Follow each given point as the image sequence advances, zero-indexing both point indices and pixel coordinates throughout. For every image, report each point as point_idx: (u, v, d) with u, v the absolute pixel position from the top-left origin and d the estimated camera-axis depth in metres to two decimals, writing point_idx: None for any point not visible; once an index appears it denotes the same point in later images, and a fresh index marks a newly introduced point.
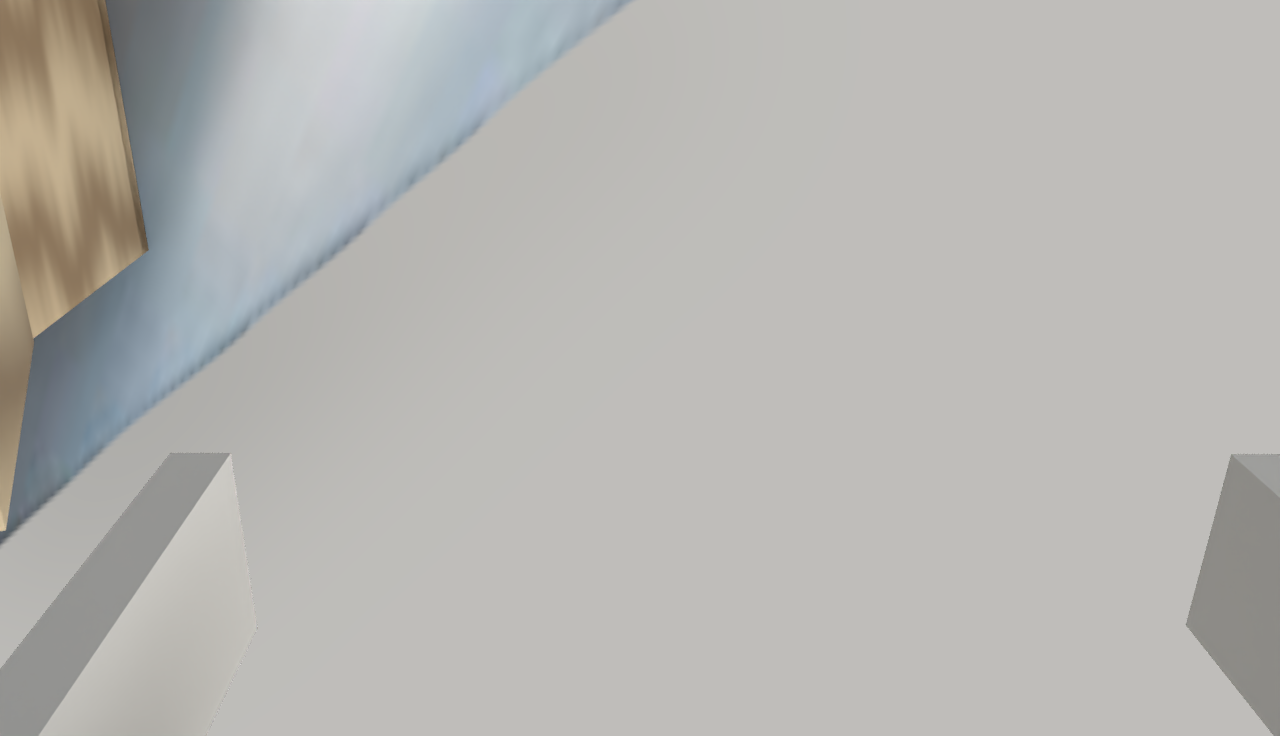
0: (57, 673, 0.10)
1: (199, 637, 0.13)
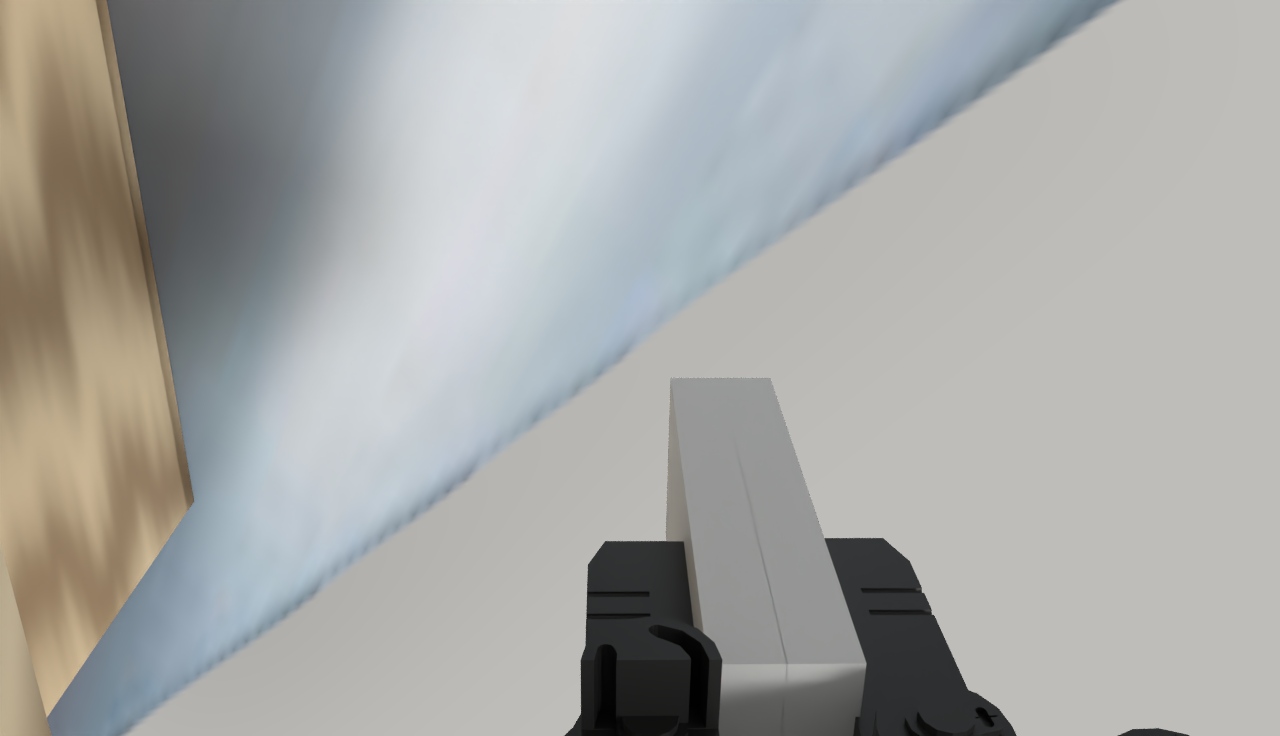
0: (739, 530, 0.12)
1: None
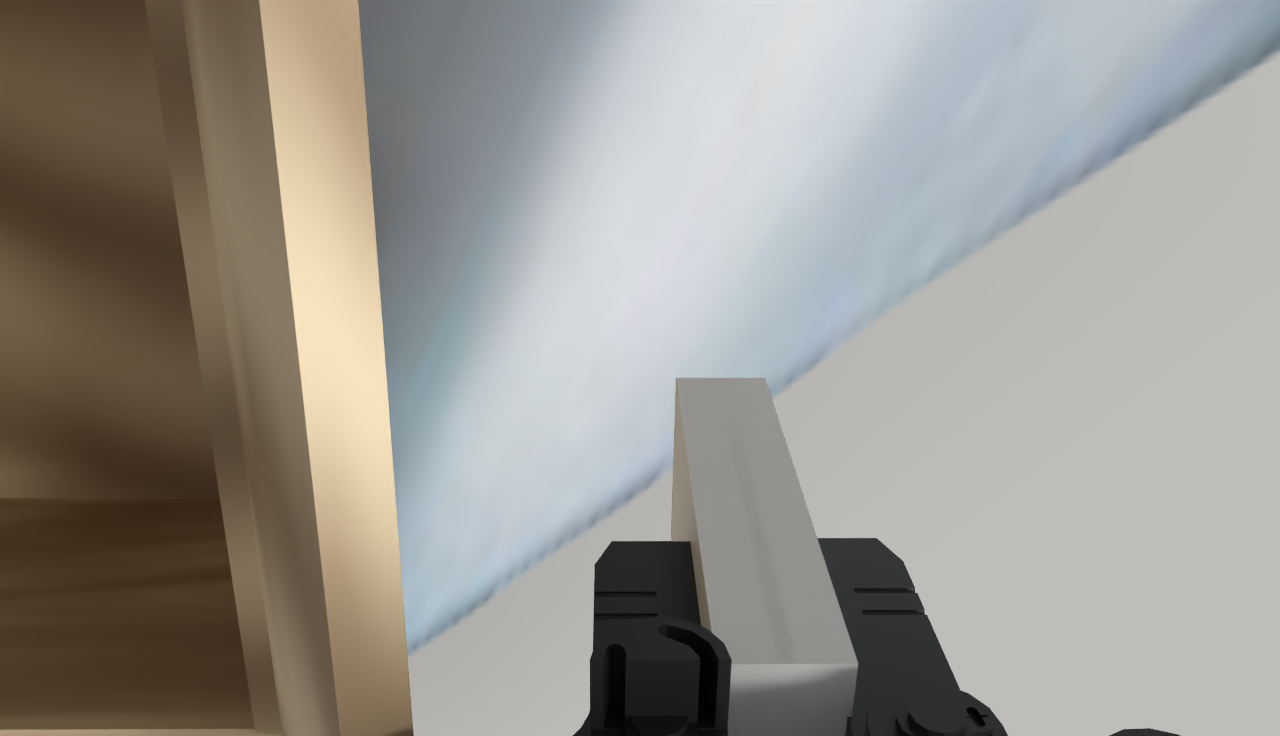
0: (746, 530, 0.12)
1: None
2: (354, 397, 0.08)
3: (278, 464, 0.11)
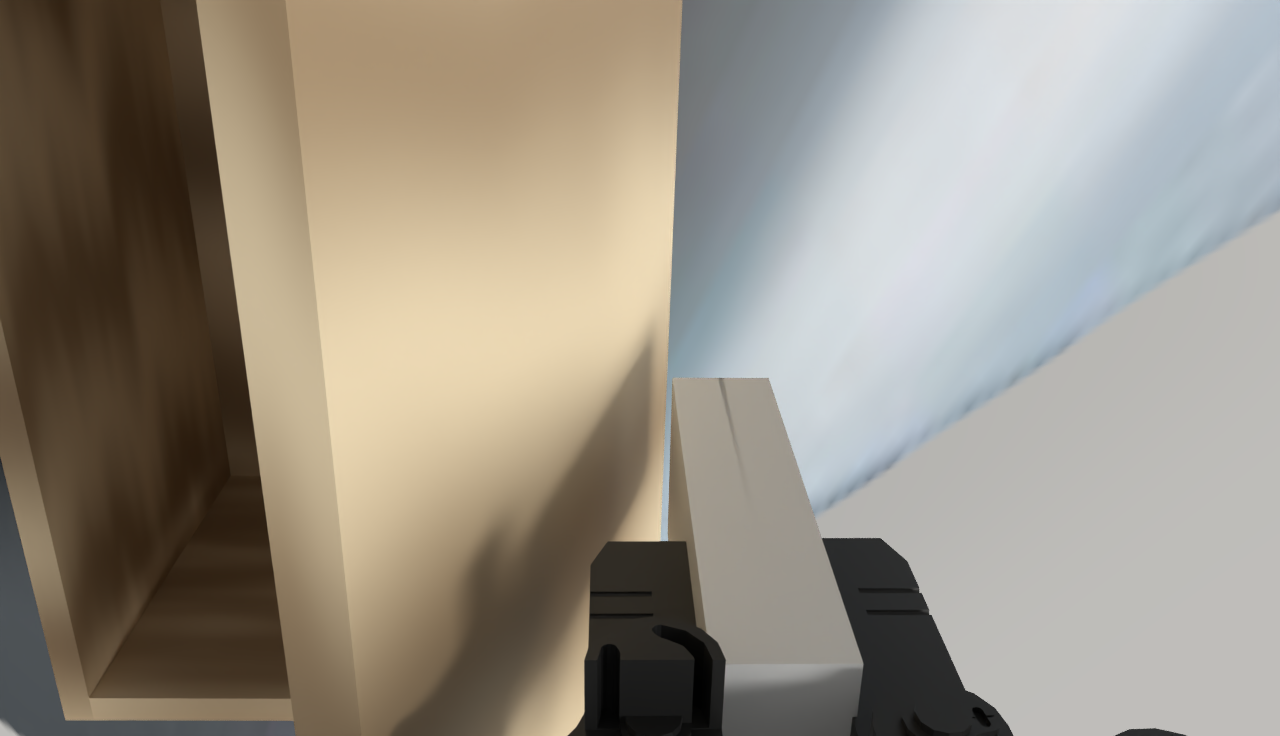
0: (742, 530, 0.12)
1: None
2: (294, 387, 0.07)
3: None
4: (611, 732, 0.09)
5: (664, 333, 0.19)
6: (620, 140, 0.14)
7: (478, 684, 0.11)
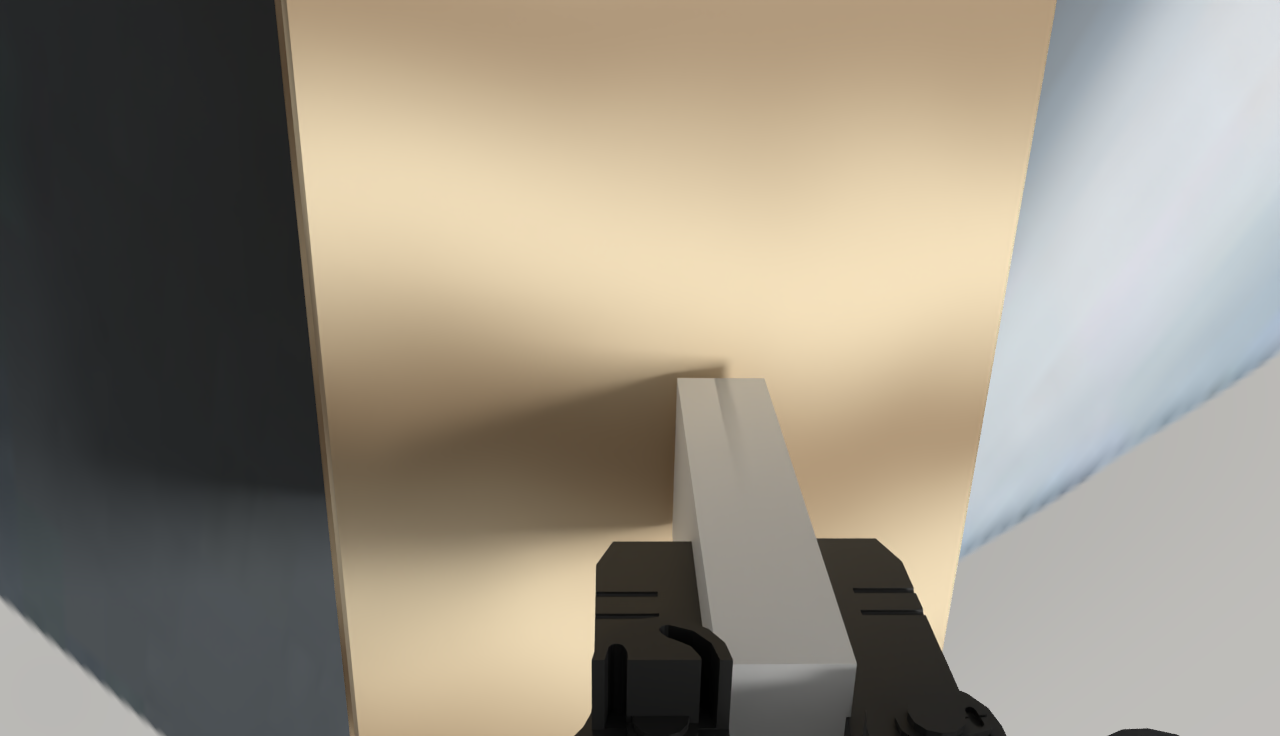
0: (748, 530, 0.12)
1: None
2: (302, 174, 0.13)
3: None
4: (618, 731, 0.09)
5: (978, 354, 0.19)
6: (845, 132, 0.16)
7: (501, 470, 0.16)
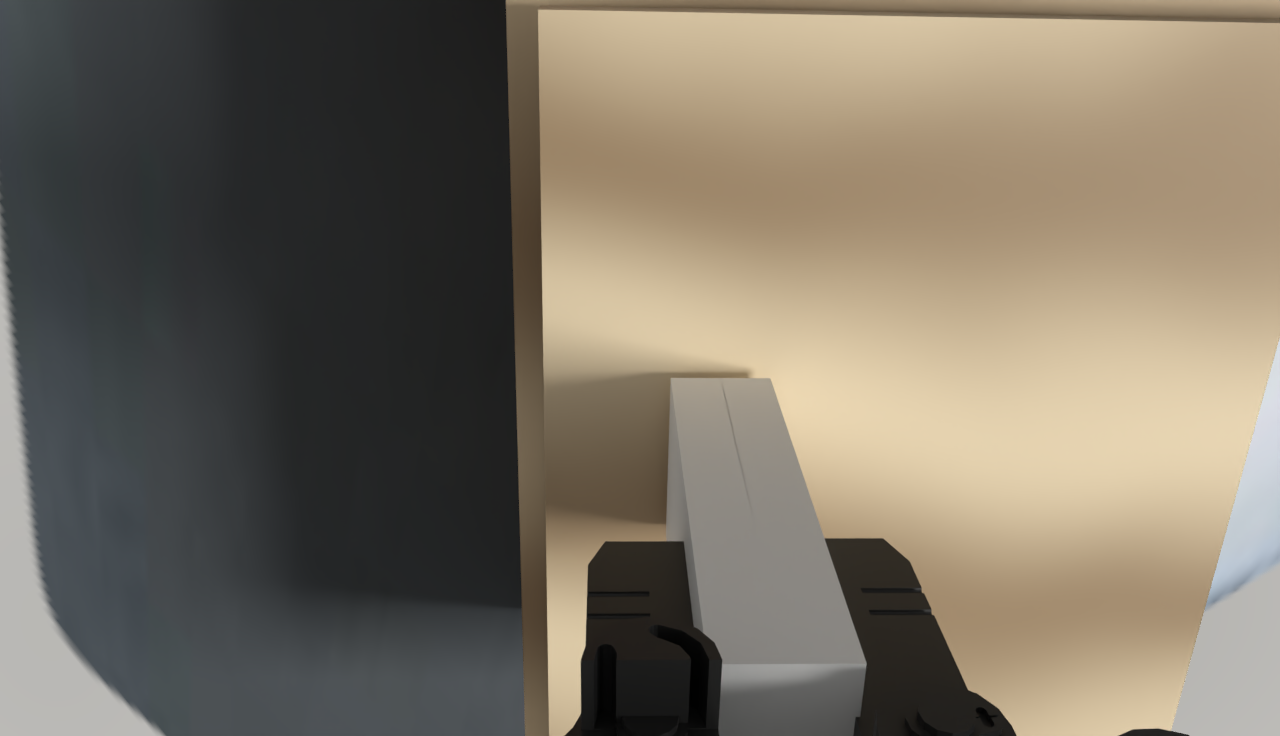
0: (739, 530, 0.12)
1: None
2: None
3: None
4: (607, 732, 0.09)
5: (1206, 530, 0.18)
6: (1059, 301, 0.16)
7: None
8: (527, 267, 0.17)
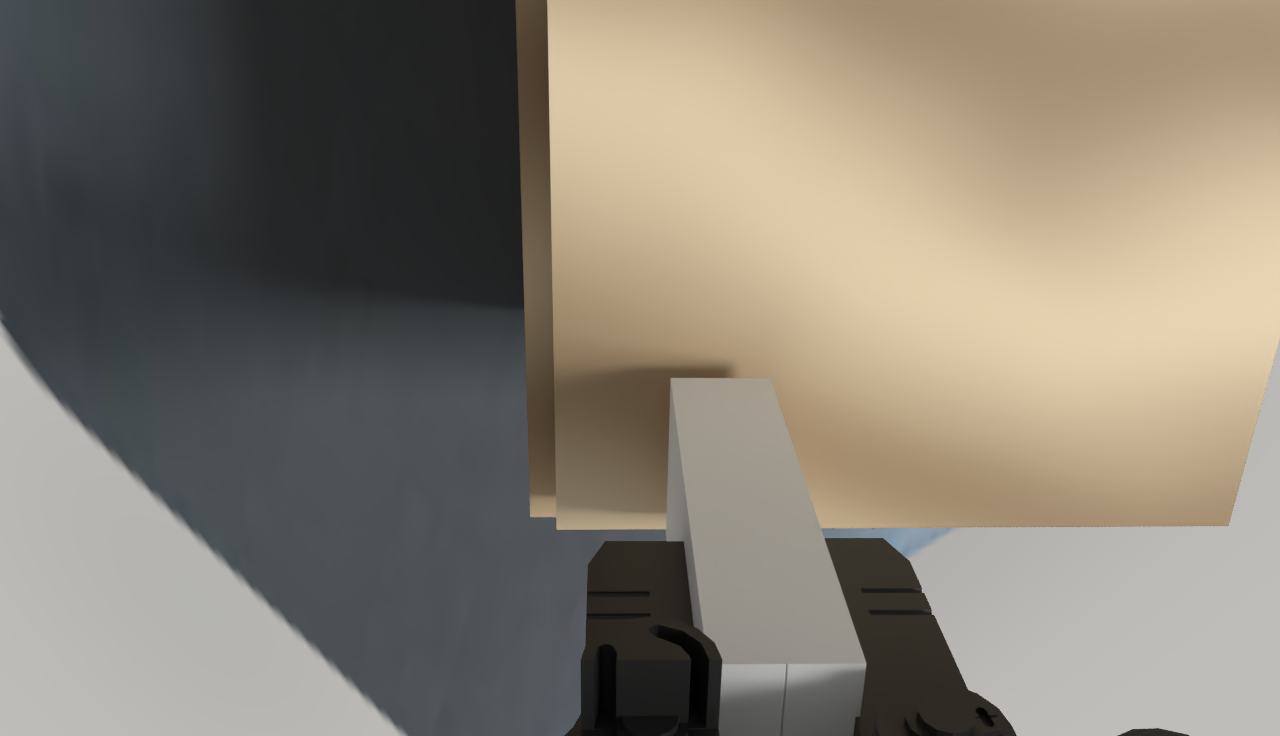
0: (739, 530, 0.12)
1: None
2: None
3: None
4: (607, 732, 0.09)
5: None
6: None
7: None
8: None
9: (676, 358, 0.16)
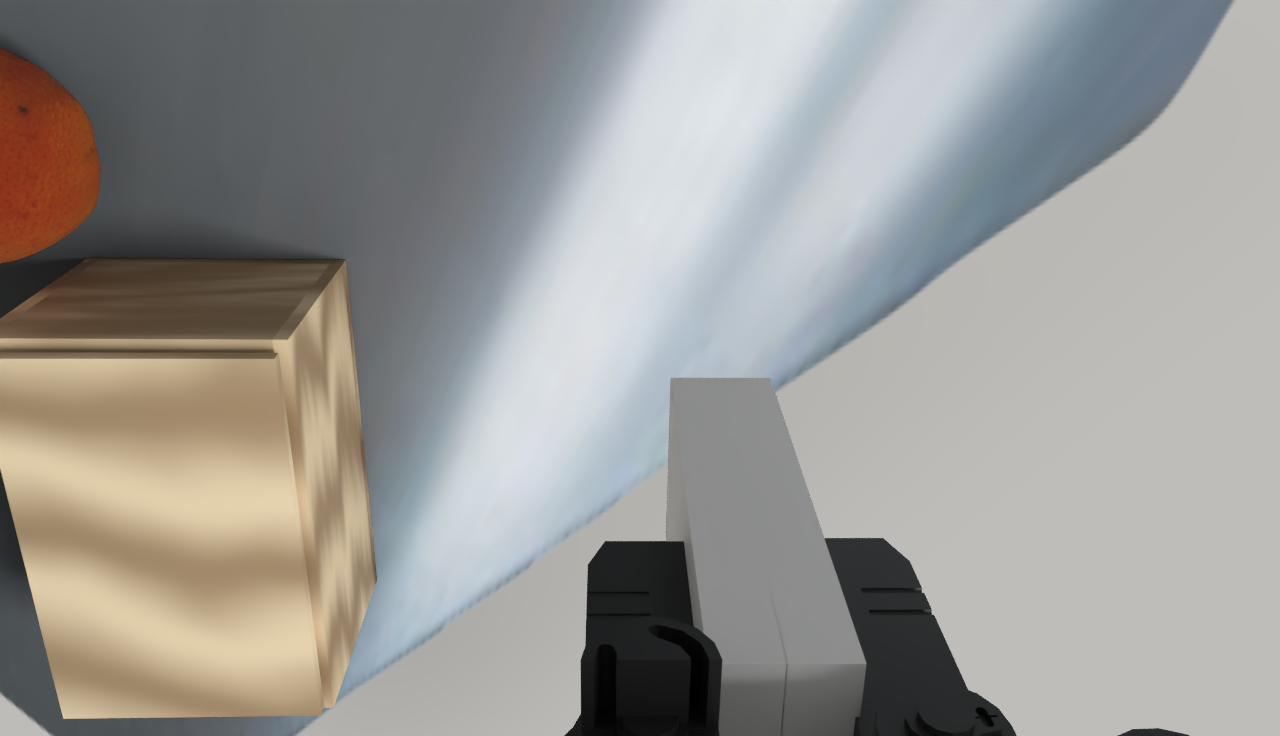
0: (740, 530, 0.12)
1: None
2: None
3: None
4: (608, 732, 0.09)
5: (289, 538, 0.44)
6: (195, 452, 0.42)
7: (80, 552, 0.44)
8: None
9: (93, 662, 0.46)
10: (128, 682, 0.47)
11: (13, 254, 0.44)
